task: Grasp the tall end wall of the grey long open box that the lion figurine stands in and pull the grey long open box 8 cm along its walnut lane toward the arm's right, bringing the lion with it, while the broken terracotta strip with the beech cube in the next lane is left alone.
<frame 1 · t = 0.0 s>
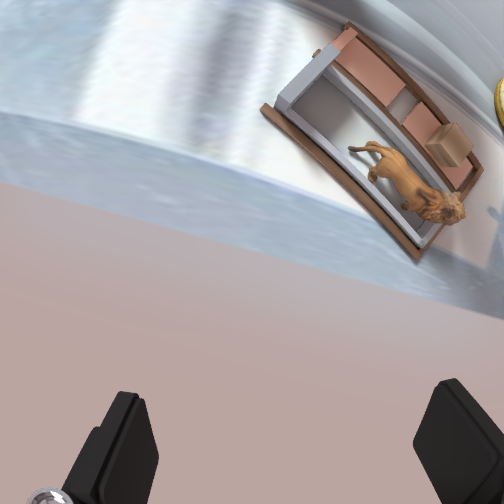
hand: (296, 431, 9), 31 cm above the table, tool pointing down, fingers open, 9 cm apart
lane rails: (385, 135, 36), on the table
lion figurine: (395, 180, 37), resting in grey long open box
grey long open box: (382, 153, 33), point 4 cm above the table, slide at 0.0 cm
cube: (440, 146, 35), point 1 cm above the table, touching broken strip
broken strip: (406, 110, 35), resting in lane rails
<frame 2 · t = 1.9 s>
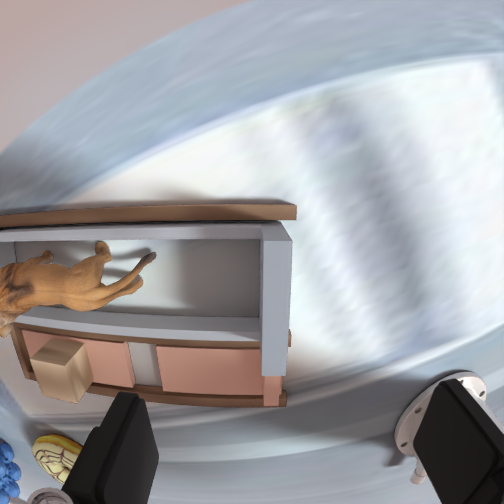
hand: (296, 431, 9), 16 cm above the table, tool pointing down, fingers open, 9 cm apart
lane rails: (127, 311, 25), on the table
lion figurine: (79, 273, 25), resting in grey long open box
grey long open box: (102, 289, 21), point 4 cm above the table, slide at 0.0 cm
cube: (72, 359, 25), point 1 cm above the table, touching broken strip
grapes: (11, 444, 31), on the table
decorated donut: (74, 455, 31), on the table
broken strip: (136, 361, 26), resting in lane rails
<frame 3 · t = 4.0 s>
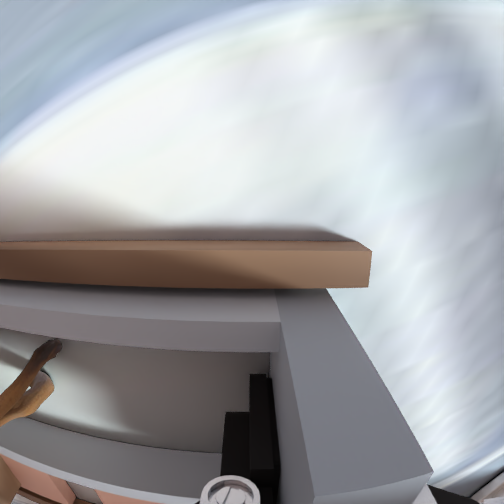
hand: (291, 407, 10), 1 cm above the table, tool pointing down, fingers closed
lane rails: (36, 419, 11), on the table
broken strip: (69, 477, 12), resting in lane rails
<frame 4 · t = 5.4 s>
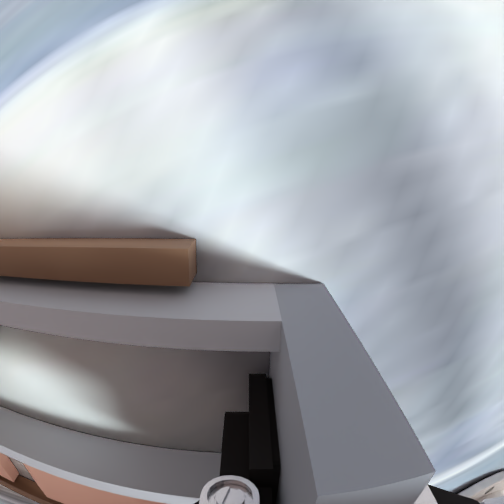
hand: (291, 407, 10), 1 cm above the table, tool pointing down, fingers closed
broken strip: (9, 453, 12), resting in lane rails
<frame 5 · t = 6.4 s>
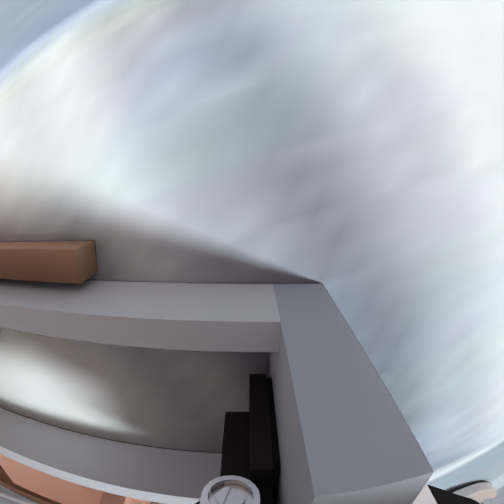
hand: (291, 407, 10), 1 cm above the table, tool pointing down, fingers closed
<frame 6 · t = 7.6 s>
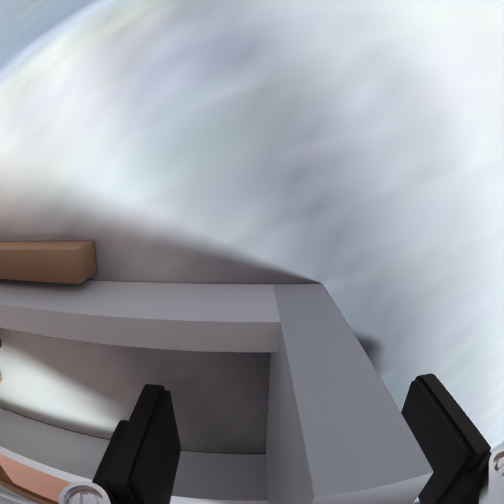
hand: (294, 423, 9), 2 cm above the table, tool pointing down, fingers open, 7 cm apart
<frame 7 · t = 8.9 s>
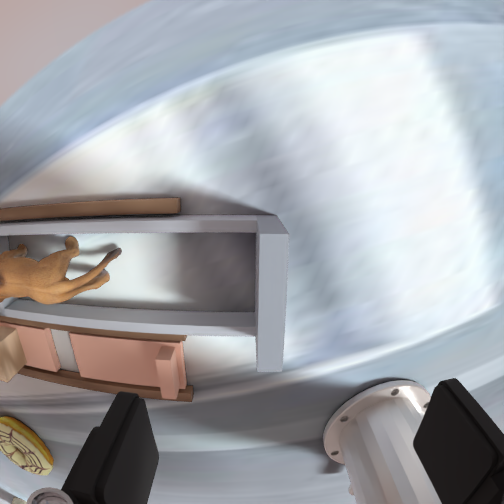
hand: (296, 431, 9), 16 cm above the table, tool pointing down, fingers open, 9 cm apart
lane rails: (47, 300, 25), on the table
lion figurine: (51, 266, 24), resting in grey long open box
grey long open box: (96, 283, 21), point 4 cm above the table, slide at 8.0 cm
cube: (9, 343, 25), point 1 cm above the table, touching broken strip
decorated donut: (26, 438, 31), on the table
broken strip: (58, 347, 26), resting in lane rails
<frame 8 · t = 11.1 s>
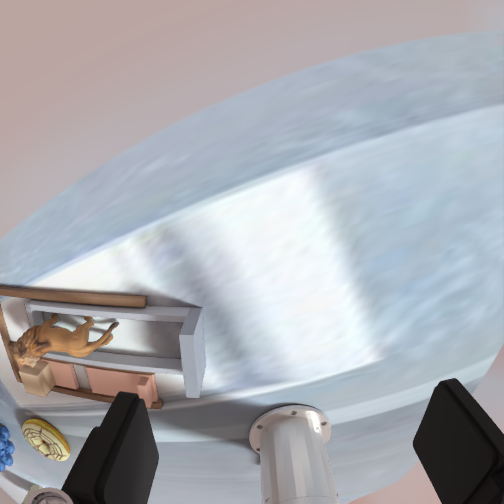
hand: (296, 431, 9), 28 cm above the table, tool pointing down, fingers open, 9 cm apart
lane rails: (70, 346, 40), on the table
lion figurine: (75, 327, 39), resting in grey long open box
grey long open box: (101, 344, 35), point 3 cm above the table, slide at 8.0 cm
cube: (43, 371, 40), point 1 cm above the table, touching broken strip
grapes: (8, 427, 46), on the table
can: (45, 493, 53), on the table
decorated donut: (49, 434, 45), on the table
broken strip: (78, 374, 41), resting in lane rails
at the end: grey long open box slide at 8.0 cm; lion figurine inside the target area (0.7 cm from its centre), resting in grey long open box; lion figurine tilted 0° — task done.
